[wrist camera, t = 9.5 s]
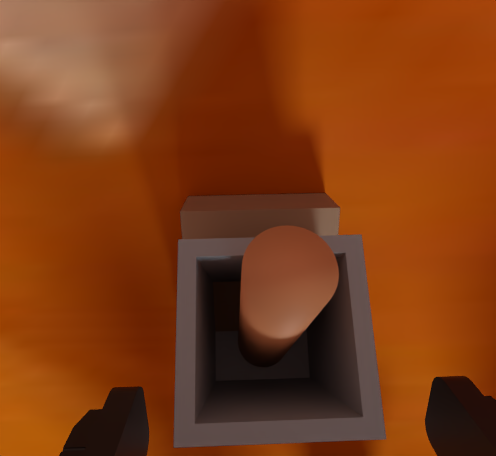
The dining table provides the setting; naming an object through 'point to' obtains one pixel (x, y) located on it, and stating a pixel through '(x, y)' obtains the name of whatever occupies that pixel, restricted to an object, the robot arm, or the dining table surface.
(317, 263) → the dowel
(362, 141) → the dining table surface
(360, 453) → the dining table surface
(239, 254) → the socket
